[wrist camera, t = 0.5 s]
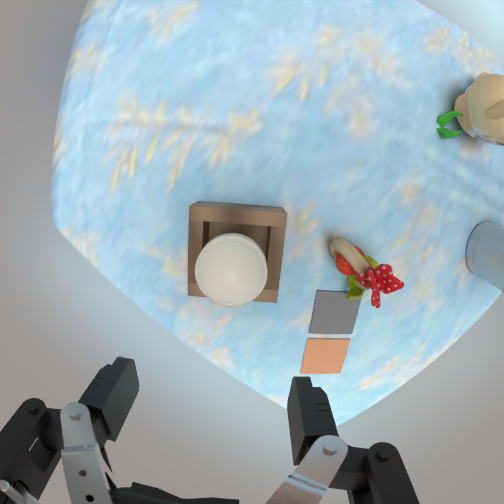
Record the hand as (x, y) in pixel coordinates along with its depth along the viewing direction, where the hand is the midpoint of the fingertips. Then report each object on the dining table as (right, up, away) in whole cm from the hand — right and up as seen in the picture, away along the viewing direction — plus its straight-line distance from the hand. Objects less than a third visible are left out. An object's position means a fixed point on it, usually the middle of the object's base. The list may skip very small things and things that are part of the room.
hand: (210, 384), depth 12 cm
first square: (+13, -2, +25) cm, 29 cm away
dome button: (0, +5, +17) cm, 18 cm away
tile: (+13, -10, +27) cm, 32 cm away
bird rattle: (+14, +5, +24) cm, 28 cm away
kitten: (+34, +27, +17) cm, 46 cm away
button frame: (0, +7, +23) cm, 24 cm away
